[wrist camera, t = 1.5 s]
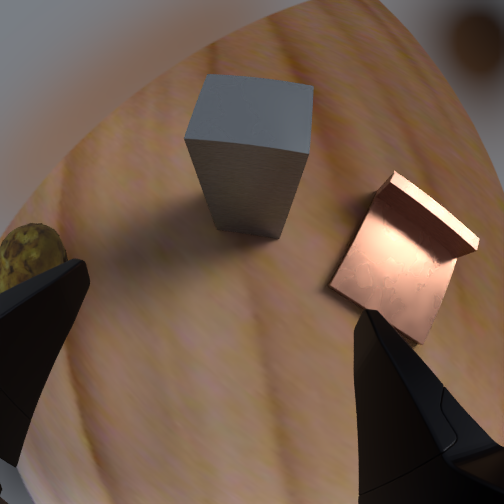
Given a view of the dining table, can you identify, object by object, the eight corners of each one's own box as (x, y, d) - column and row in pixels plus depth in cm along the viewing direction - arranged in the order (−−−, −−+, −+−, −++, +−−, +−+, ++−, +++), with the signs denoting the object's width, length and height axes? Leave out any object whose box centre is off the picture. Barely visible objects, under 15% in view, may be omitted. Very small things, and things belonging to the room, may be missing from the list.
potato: (5, 252, 22) (-45, 232, 15) (93, 234, 23) (41, 201, 15) (6, 329, 21) (-48, 325, 13) (97, 328, 21) (37, 329, 13)
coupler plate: (418, 344, 21) (443, 346, 17) (327, 286, 22) (342, 280, 18) (455, 249, 23) (479, 239, 19) (377, 190, 24) (394, 171, 20)
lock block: (279, 238, 23) (309, 153, 11) (216, 229, 23) (183, 138, 11) (285, 193, 24) (313, 86, 11) (226, 184, 24) (207, 74, 12)
